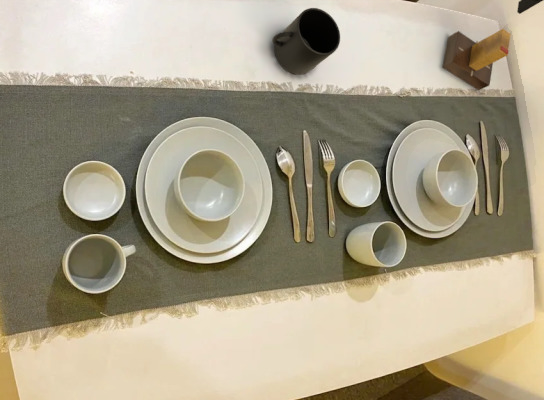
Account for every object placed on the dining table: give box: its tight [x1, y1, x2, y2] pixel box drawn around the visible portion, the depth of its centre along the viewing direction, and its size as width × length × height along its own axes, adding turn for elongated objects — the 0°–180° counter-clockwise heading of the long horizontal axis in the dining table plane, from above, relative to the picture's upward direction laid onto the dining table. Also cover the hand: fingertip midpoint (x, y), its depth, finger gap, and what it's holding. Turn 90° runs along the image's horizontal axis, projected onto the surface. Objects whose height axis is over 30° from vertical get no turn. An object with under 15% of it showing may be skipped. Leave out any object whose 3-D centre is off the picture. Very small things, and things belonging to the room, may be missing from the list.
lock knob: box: [469, 28, 511, 71], centre depth 109 cm, size 6×2×8 cm, turn 159°
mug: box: [271, 7, 341, 76], centre depth 91 cm, size 9×12×9 cm
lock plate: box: [442, 30, 494, 91], centre depth 114 cm, size 12×10×3 cm
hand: (542, 24), depth 98 cm, fingers open, 13 cm apart
